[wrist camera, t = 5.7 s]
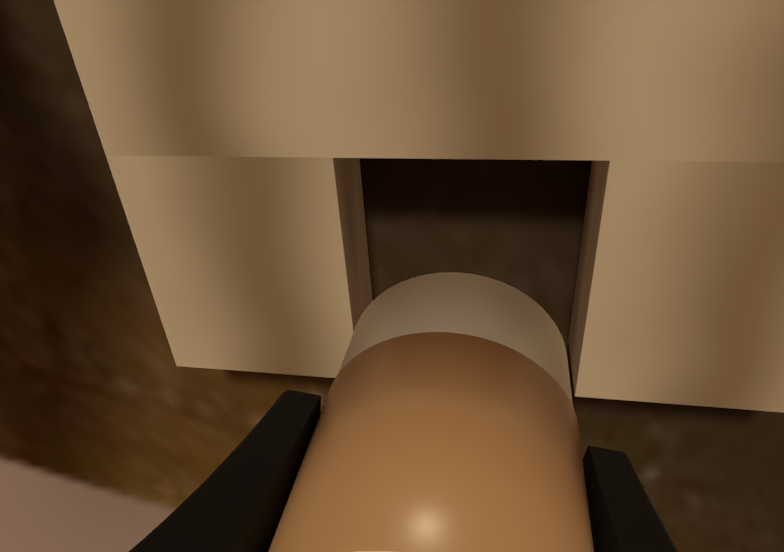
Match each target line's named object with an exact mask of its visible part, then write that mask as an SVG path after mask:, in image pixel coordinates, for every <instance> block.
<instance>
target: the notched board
mask: <svg viewBox="0 0 784 552" xmlns="http://www.w3.org/2000/svg"><path fill="white" fill-rule="evenodd" d="M54 3H55V6H56V9H57V12H58V15H59V18H60V21H61V24H62V27H63V30H64V33H65V35H66V38H67V41H68V44H69V47H70V50H71V53H72V56H73V59H74V62H75V65H76V68H77V71H78V74H79V77H80V80H81V83H82V86H83V89H84V92H85V95H86V98H87V101H88V104H89V107H90V110H91V113H92V116H93V119H94V122H95V125H96V128H97V131H98V134H99V137H100V140H101V143H102V145H103V148H104V151H105V154H106V157H107V160H108V163H109V166H110V169H111V172H112V175H113V178H114V181H115V184H116V187H117V190H118V193H119V196H120V199H121V202H122V205H123V208H124V211H125V214H126V217H127V220H128V223H129V226H130V229H131V232H132V235H133V238H134V241H135V244H136V247H137V250H138V253H139V255H140V258H141V261H142V264H143V267H144V270H145V273H146V276H147V279H148V282H149V285H150V288H151V291H152V294H153V297H154V300H155V303H156V306H157V309H158V312H159V315H160V318H161V321H162V324H163V327H164V330H165V333H166V336H167V339H168V342H169V345H170V348H171V351H172V354H173V357H174V360H175V363H176V365H177V366H184V367H197V368H210V369H223V370H236V371H249V372H263V373H276V374H289V375H302V376H315V377H328V378H335V377H336V376H337V375H338V373H339V370H340V368H341V365H342V362H343V359H344V357H345V354H346V351H347V349H348V346H349V343H350V341H351V338H352V335H353V332H354V330H355V327H356V325H357V323H358V321H359V319H360V317H361V315H362V314H363V312H364V311H365V309H366V308H367V307H368V305H369V304H370V303H371V302H372V301H373V299H372V288H371V277H370V267H369V256H368V245H367V234H366V223H365V213H364V202H363V191H362V180H361V170H360V159H359V158H403V159H500V160H592V164H591V171H590V179H589V186H588V194H587V202H586V209H585V217H584V225H583V232H582V240H581V247H580V255H579V263H578V270H577V278H576V285H575V293H574V301H573V308H572V316H571V323H570V331H569V339H568V341H569V350H570V359H571V367H572V376H573V385H574V393H575V396H576V397H589V398H602V399H615V400H628V401H641V402H654V403H667V404H680V405H693V406H706V407H719V408H732V409H745V410H758V411H771V412H784V0H54Z"/></svg>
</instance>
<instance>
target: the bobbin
mask: <svg viewBox="0 0 784 552" xmlns="http://www.w3.org/2000/svg"><path fill="white" fill-rule="evenodd" d="M268 552H594V547H593V539H592V531H591V523H590V515H589V507H588V499H587V491H586V483H585V475H584V467H583V460H582V452H581V444H580V436H579V428H578V421H577V417H576V414H575V411H574V408H573V402H572V394H571V385H570V377H569V369H568V360H567V353H566V347H565V344H564V341H563V338H562V336H561V334H560V332H559V330H558V328H557V326H556V324H555V323H554V322H553V320H552V319H551V317H550V316H549V315H548V314H547V313H546V312H545V310H544V309H543V308H542V307H541V306H540V305H539V304H537V303H536V302H535V301H534V300H532V299H531V298H530V297H529V296H527V295H526V294H524V293H522V292H521V291H519V290H517V289H516V288H514V287H512V286H509V285H507V284H505V283H503V282H500V281H497V280H494V279H491V278H488V277H484V276H479V275H475V274H468V273H457V272H450V273H434V274H426V275H422V276H418V277H414V278H411V279H408V280H406V281H403V282H401V283H398V284H396V285H394V286H393V287H391V288H389V289H387V290H386V291H384V292H383V293H382V294H380V295H379V296H378V297H376V298H375V299H374V300H373V301H372V302H371V303H370V304H369V305H368V307H367V308H366V309H365V311H364V312H363V314H362V315H361V317H360V319H359V321H358V323H357V325H356V327H355V330H354V332H353V335H352V338H351V341H350V343H349V346H348V349H347V351H346V354H345V357H344V359H343V362H342V365H341V368H340V370H339V373H338V375H337V376H336V377H335V379H334V381H333V383H332V385H331V387H330V389H329V392H328V395H327V397H326V400H325V403H324V405H323V408H322V411H321V413H320V416H319V419H318V421H317V424H316V427H315V429H314V432H313V435H312V437H311V440H310V443H309V445H308V448H307V450H306V453H305V456H304V458H303V461H302V464H301V466H300V469H299V472H298V474H297V477H296V480H295V482H294V485H293V488H292V490H291V493H290V496H289V498H288V501H287V504H286V506H285V509H284V512H283V514H282V517H281V519H280V522H279V525H278V527H277V530H276V533H275V535H274V538H273V541H272V543H271V546H270V549H269V551H268Z"/></svg>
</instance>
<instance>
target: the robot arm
mask: <svg viewBox="0 0 784 552" xmlns="http://www.w3.org/2000/svg"><path fill="white" fill-rule="evenodd" d="M320 409H321V396H319V395H314V394H309V393H303V392H298V391H292V390H287V391H285V392H284V393H282V394H281V396H280V397H279V398H278V400H277V401H276V402H275V403H274V405H273V406H272V407H271V408H270V410H269V411H268V412H267V413H266V414H265V416H264V417H263V418H262V419H261V420H260V422H259V423H258V424H257V425H256V426H255V427H254V429H253V430H252V431H251V432H250V433H249V434H248V435H247V437H246V438H245V439H244V440H243V441H242V442H241V443H240V444H239V446H238V447H237V448H236V449H235V450H234V451H233V452H232V453H231V454H230V455H229V456H228V457H227V458H226V459H225V461H224V462H223V463H222V464H221V465H220V466H219V467H218V468H217V469H216V470H215V471H214V472H213V473H212V474H211V475H210V476H209V477H208V478H207V479H206V481H205V482H204V483H203V484H202V485H201V486H200V487H199V488H198V489H196V490H195V491H194V492H193V493H192V494H191V495H190V496H189V497H188V498H187V499H186V500H185V501H184V502H183V503H182V504H181V505H180V506H179V507H178V508H177V509H176V510H175V511H174V512H172V513H171V514H170V515H169V516H168V517H167V518H166V519H165V520H164V521H163V522H162V523H161V524H160V525H159V526H158V527H156V528H155V529H154V530H153V531H152V532H151V533H150V534H149V535H148V536H146V537H145V538H144V539H143V540H142V541H141V542H140V543H138V544H137V545H136V546H135V547H134V548H133V549H131V550H130V551H129V552H268V551H269V549H270V546H271V543H272V541H273V538H274V535H275V533H276V530H277V527H278V525H279V522H280V519H281V517H282V514H283V512H284V509H285V506H286V504H287V501H288V498H289V496H290V493H291V490H292V488H293V485H294V482H295V480H296V477H297V474H298V472H299V469H300V466H301V464H302V461H303V458H304V456H305V453H306V450H307V448H308V445H309V443H310V440H311V437H312V435H313V432H314V429H315V427H316V424H317V421H318V419H319V416H320ZM583 467H584V475H585V483H586V491H587V499H588V507H589V515H590V523H591V531H592V539H593V547H594V552H677V550H676V548H675V546H674V545H673V543H672V541H671V539H670V537H669V536H668V534H667V532H666V530H665V528H664V526H663V524H662V522H661V521H660V519H659V517H658V515H657V513H656V511H655V509H654V507H653V505H652V504H651V502H650V500H649V498H648V496H647V494H646V492H645V490H644V488H643V486H642V484H641V482H640V480H639V478H638V476H637V474H636V472H635V470H634V468H633V466H632V464H631V462H630V460H629V458H628V457H627V455H626V454H625V453H624V452H619V451H614V450H609V449H603V448H598V447H593V446H588V448H587V450H586V453H585V455H584V458H583Z"/></svg>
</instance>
